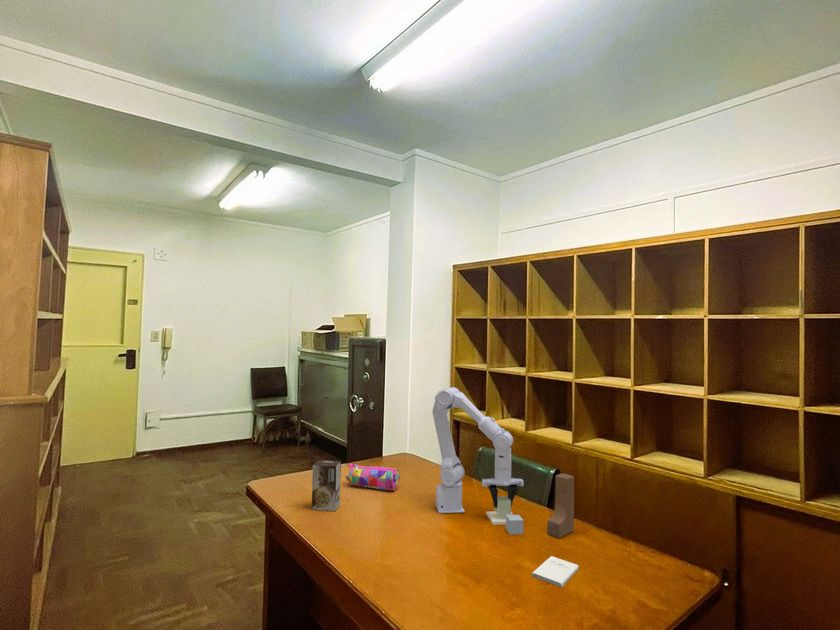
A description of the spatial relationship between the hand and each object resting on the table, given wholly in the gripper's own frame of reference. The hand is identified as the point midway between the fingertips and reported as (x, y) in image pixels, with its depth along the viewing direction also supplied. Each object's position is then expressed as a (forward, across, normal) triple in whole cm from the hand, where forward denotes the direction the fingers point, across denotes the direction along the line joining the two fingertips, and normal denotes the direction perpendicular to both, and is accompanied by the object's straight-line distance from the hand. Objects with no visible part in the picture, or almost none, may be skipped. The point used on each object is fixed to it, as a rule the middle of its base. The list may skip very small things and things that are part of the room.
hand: (502, 506), depth 157 cm
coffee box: (+4, -62, +14) cm, 64 cm away
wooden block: (+4, +16, -12) cm, 20 cm away
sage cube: (+2, 0, 0) cm, 2 cm away
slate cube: (+4, +1, -10) cm, 11 cm away
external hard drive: (+5, +4, -36) cm, 37 cm away
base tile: (+5, 0, 0) cm, 5 cm away
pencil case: (+5, -45, +35) cm, 57 cm away
